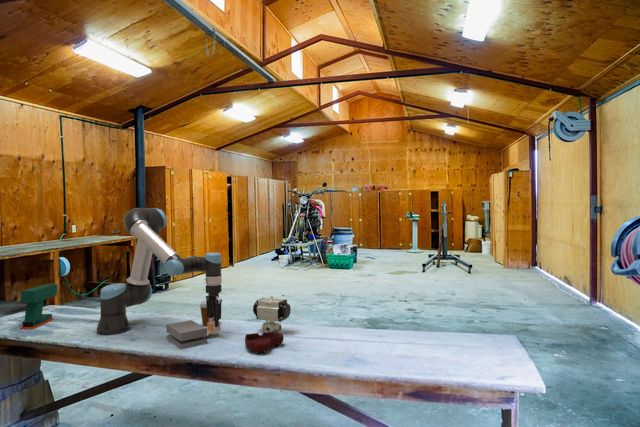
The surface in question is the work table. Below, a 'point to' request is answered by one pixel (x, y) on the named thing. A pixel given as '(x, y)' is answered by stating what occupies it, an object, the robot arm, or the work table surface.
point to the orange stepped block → (211, 327)
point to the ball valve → (271, 312)
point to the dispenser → (186, 334)
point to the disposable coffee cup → (204, 313)
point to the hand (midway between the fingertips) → (213, 332)
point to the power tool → (37, 305)
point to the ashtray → (263, 341)
